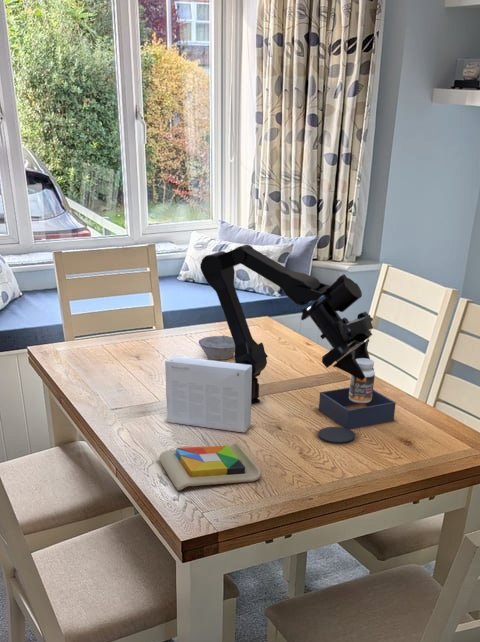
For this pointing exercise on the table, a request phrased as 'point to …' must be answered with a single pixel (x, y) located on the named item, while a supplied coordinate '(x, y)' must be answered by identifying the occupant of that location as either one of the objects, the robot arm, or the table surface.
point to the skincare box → (209, 393)
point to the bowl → (218, 347)
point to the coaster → (336, 435)
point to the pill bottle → (362, 382)
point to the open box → (375, 413)
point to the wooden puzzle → (209, 465)
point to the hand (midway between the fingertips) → (368, 375)
